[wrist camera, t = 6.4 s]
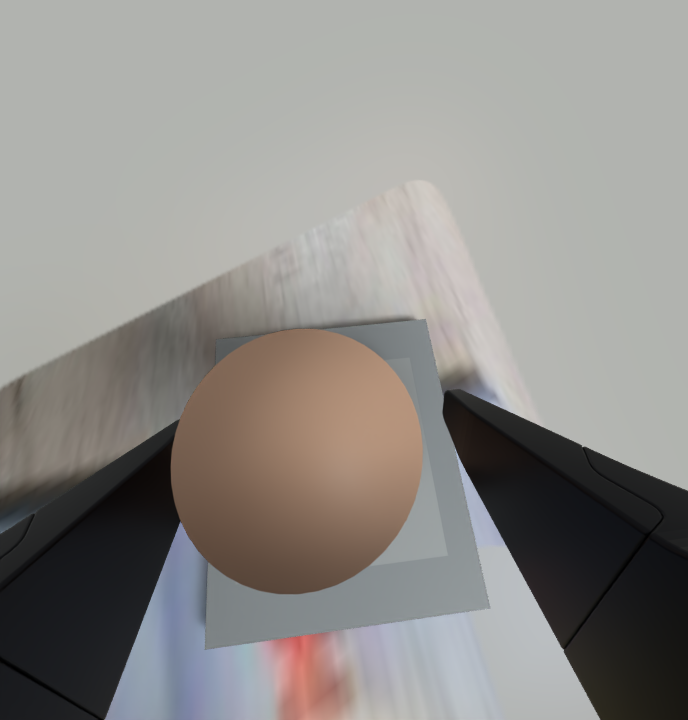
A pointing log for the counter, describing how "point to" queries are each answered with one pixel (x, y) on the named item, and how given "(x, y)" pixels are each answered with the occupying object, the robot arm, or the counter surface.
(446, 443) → the socket
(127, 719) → the counter surface
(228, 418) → the dowel
